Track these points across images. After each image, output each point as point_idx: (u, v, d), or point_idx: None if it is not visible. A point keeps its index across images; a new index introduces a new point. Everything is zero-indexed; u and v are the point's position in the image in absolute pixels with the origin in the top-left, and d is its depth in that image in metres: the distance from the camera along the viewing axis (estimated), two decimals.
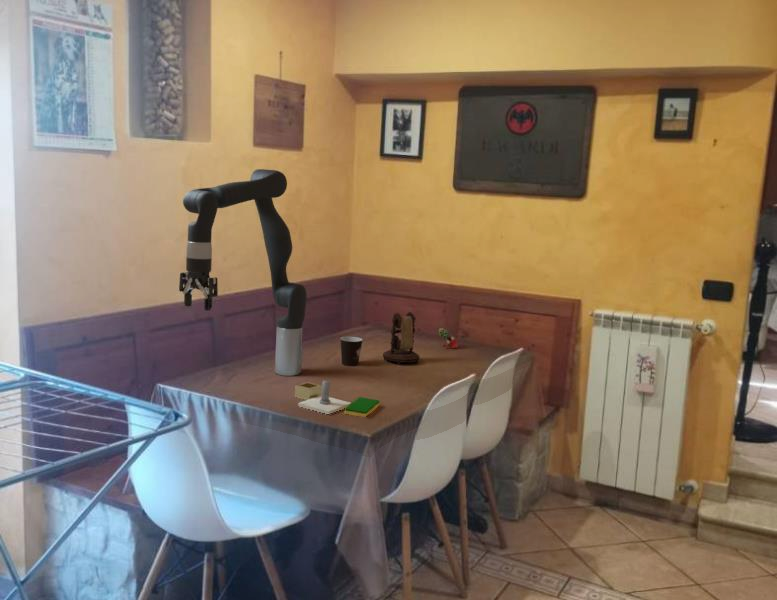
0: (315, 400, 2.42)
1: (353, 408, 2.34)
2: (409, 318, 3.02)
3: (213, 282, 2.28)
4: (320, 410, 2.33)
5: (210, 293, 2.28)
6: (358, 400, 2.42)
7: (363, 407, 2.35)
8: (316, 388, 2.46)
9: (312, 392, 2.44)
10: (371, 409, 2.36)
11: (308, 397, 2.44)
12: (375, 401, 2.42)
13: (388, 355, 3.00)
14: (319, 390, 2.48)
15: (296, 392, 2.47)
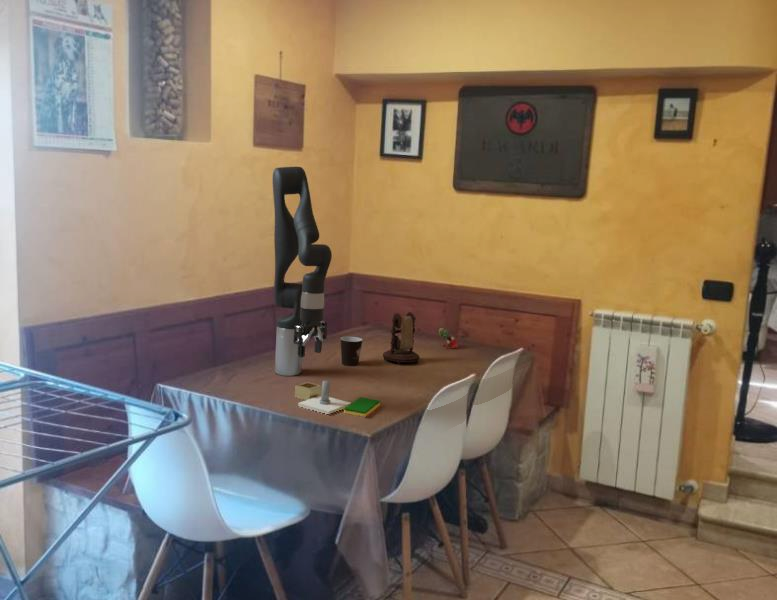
0: (315, 400, 2.42)
1: (352, 408, 2.34)
2: (409, 318, 3.02)
3: None
4: (320, 410, 2.33)
5: (325, 335, 2.50)
6: (358, 400, 2.42)
7: (363, 407, 2.35)
8: (316, 388, 2.46)
9: (312, 392, 2.44)
10: (371, 409, 2.36)
11: (308, 397, 2.44)
12: (375, 401, 2.42)
13: (388, 355, 3.00)
14: (319, 390, 2.48)
15: (296, 392, 2.47)
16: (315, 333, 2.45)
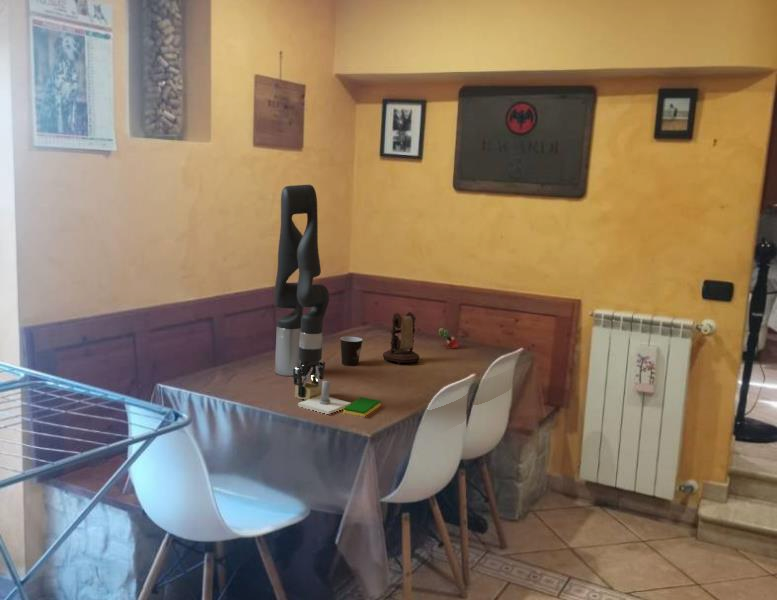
0: (315, 400, 2.42)
1: (352, 408, 2.34)
2: (409, 318, 3.02)
3: None
4: (320, 410, 2.33)
5: (322, 375, 2.51)
6: (359, 400, 2.42)
7: (362, 407, 2.35)
8: (316, 388, 2.46)
9: (312, 392, 2.44)
10: (370, 409, 2.36)
11: (308, 397, 2.44)
12: (376, 401, 2.42)
13: (388, 355, 3.00)
14: (319, 390, 2.48)
15: (296, 392, 2.47)
16: (313, 372, 2.47)
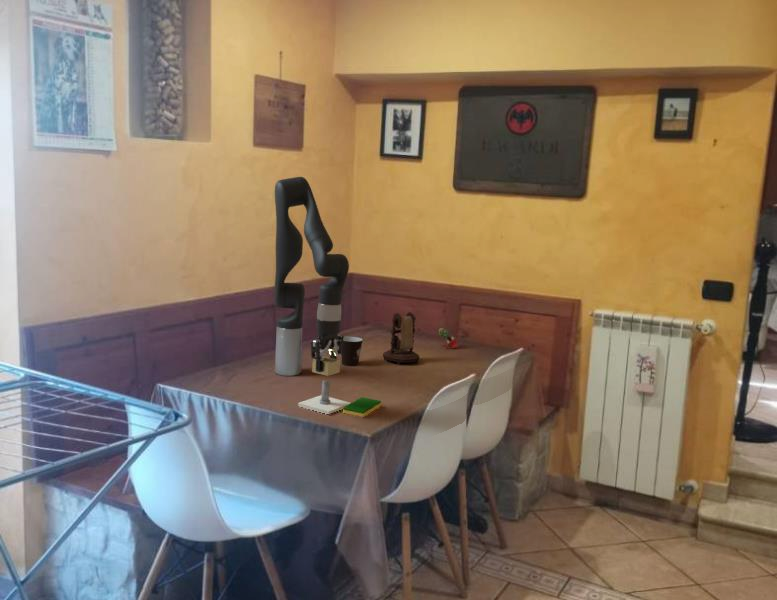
0: (315, 400, 2.42)
1: (351, 408, 2.34)
2: (409, 318, 3.02)
3: None
4: (320, 410, 2.33)
5: (340, 350, 2.41)
6: (359, 400, 2.42)
7: (362, 407, 2.35)
8: (334, 362, 2.36)
9: (330, 366, 2.34)
10: (370, 409, 2.36)
11: (326, 371, 2.33)
12: (376, 401, 2.42)
13: (388, 355, 3.00)
14: (338, 365, 2.37)
15: (314, 366, 2.36)
16: (331, 346, 2.36)
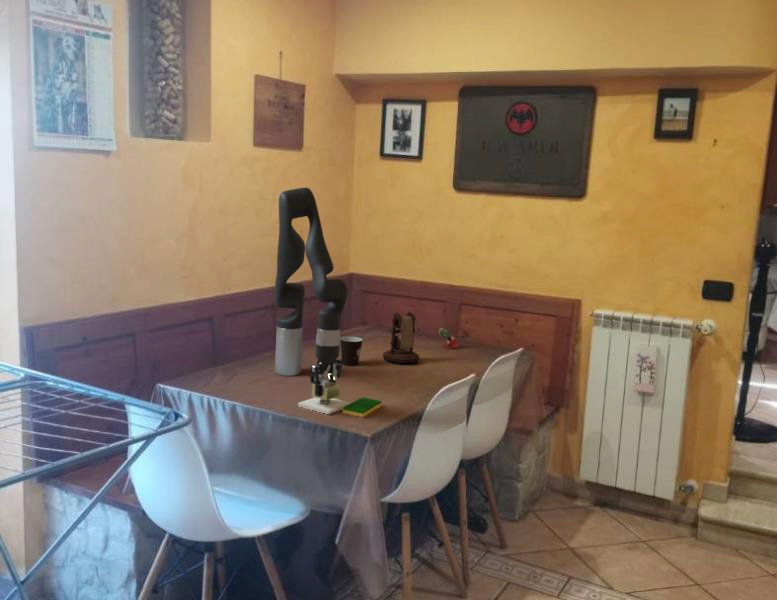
0: (315, 400, 2.42)
1: (351, 407, 2.34)
2: (409, 318, 3.02)
3: None
4: (320, 410, 2.33)
5: (339, 374, 2.42)
6: (359, 400, 2.42)
7: (362, 407, 2.35)
8: (334, 387, 2.37)
9: (329, 390, 2.35)
10: (370, 409, 2.36)
11: (325, 396, 2.35)
12: (376, 401, 2.42)
13: (388, 355, 3.00)
14: (337, 389, 2.39)
15: (313, 391, 2.37)
16: (330, 370, 2.38)
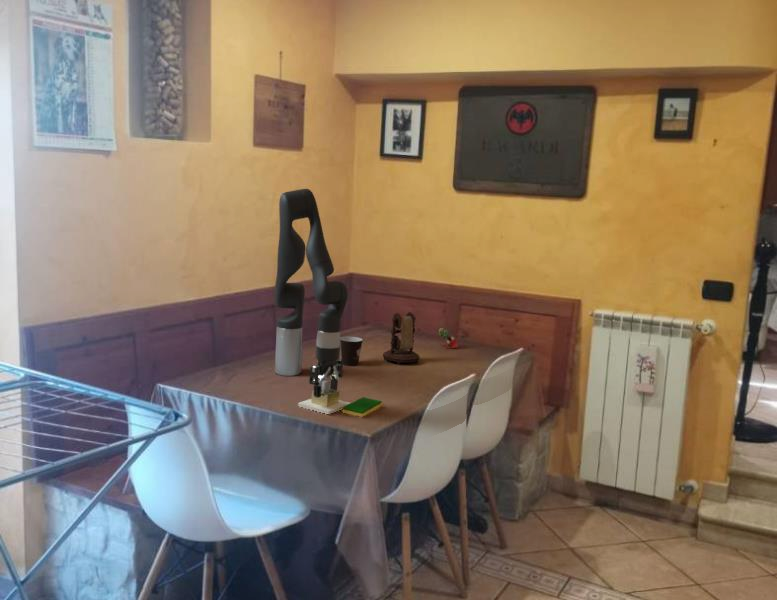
0: None
1: (351, 407, 2.34)
2: (409, 318, 3.02)
3: None
4: (320, 410, 2.33)
5: (341, 373, 2.43)
6: (360, 400, 2.42)
7: (361, 407, 2.35)
8: (333, 393, 2.38)
9: (329, 397, 2.36)
10: (370, 409, 2.36)
11: (325, 403, 2.35)
12: (377, 402, 2.42)
13: (388, 355, 3.00)
14: (337, 396, 2.39)
15: (313, 398, 2.38)
16: (331, 372, 2.38)
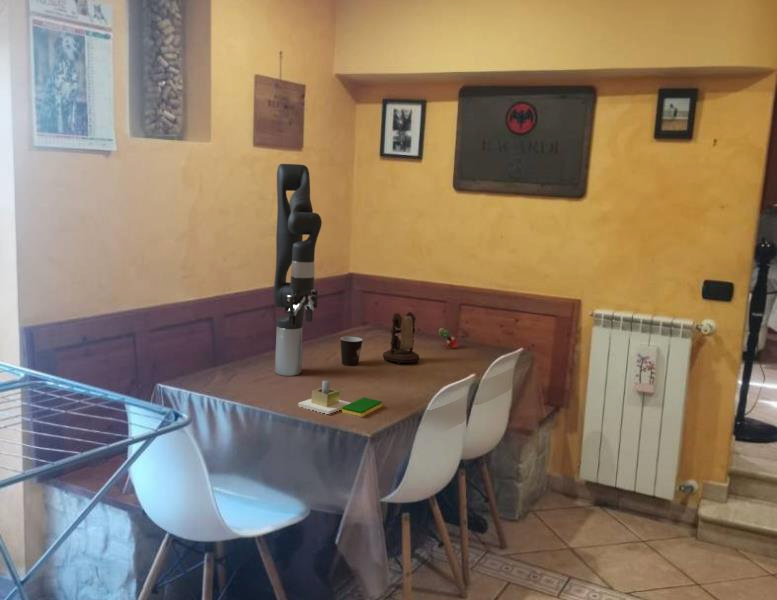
0: None
1: (350, 407, 2.34)
2: (409, 318, 3.02)
3: None
4: (320, 410, 2.33)
5: (316, 304, 2.48)
6: (360, 400, 2.42)
7: (361, 407, 2.35)
8: (333, 393, 2.38)
9: (329, 397, 2.36)
10: (369, 409, 2.36)
11: (325, 403, 2.35)
12: (377, 402, 2.42)
13: (388, 355, 3.00)
14: (337, 396, 2.39)
15: (313, 398, 2.38)
16: (306, 302, 2.43)
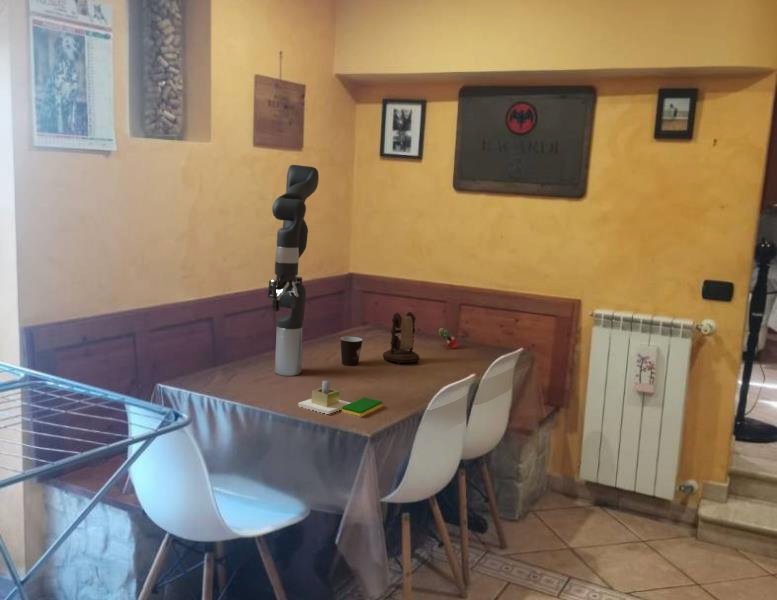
0: None
1: (350, 407, 2.34)
2: (409, 318, 3.02)
3: None
4: (320, 410, 2.33)
5: (300, 291, 2.51)
6: (360, 400, 2.42)
7: (361, 407, 2.35)
8: (333, 393, 2.38)
9: (329, 397, 2.36)
10: (369, 409, 2.36)
11: (325, 403, 2.35)
12: (377, 402, 2.41)
13: (388, 355, 3.00)
14: (337, 396, 2.39)
15: (313, 398, 2.38)
16: (290, 288, 2.46)
